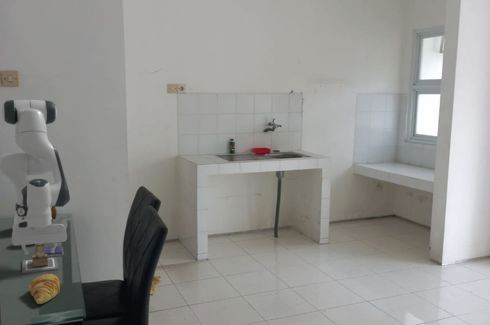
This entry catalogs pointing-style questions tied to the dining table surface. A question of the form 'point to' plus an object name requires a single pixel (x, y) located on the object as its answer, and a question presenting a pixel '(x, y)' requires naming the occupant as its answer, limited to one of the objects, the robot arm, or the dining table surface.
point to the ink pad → (57, 251)
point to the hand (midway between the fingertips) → (39, 253)
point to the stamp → (40, 256)
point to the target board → (28, 267)
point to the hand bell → (53, 212)
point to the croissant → (44, 287)
